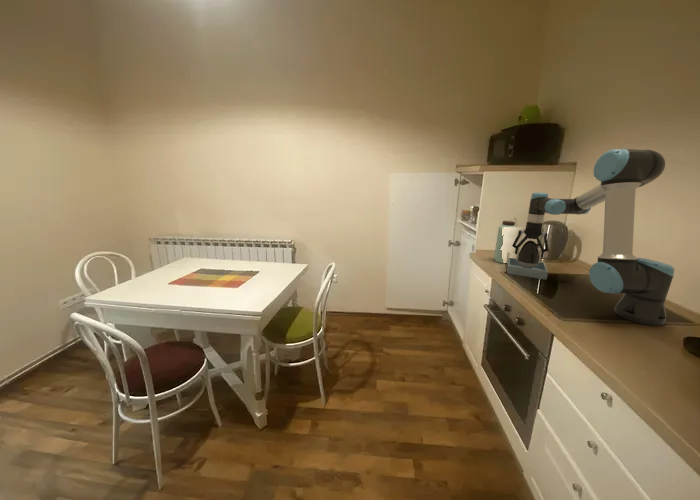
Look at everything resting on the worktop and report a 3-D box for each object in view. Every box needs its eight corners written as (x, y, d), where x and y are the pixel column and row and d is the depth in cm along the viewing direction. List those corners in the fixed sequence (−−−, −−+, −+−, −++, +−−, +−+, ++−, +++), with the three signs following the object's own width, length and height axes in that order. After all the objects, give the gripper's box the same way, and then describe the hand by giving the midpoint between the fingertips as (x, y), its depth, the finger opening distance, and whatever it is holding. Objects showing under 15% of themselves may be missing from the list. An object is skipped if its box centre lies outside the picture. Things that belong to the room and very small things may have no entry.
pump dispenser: (536, 271, 167) (541, 243, 163) (514, 267, 173) (519, 240, 169) (538, 266, 175) (543, 240, 171) (518, 263, 181) (522, 237, 177)
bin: (546, 279, 163) (548, 271, 162) (507, 273, 171) (508, 265, 170) (543, 269, 179) (544, 262, 178) (507, 264, 187) (508, 257, 186)
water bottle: (493, 262, 191) (499, 222, 184) (494, 258, 199) (500, 219, 193) (511, 265, 186) (518, 223, 180) (511, 260, 195) (518, 221, 188)
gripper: (558, 223, 166) (550, 262, 172) (511, 218, 175) (505, 256, 181) (560, 225, 159) (552, 266, 165) (511, 220, 169) (505, 260, 175)
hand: (527, 261), depth 173 cm, fingers closed on pump dispenser, 10 cm apart
